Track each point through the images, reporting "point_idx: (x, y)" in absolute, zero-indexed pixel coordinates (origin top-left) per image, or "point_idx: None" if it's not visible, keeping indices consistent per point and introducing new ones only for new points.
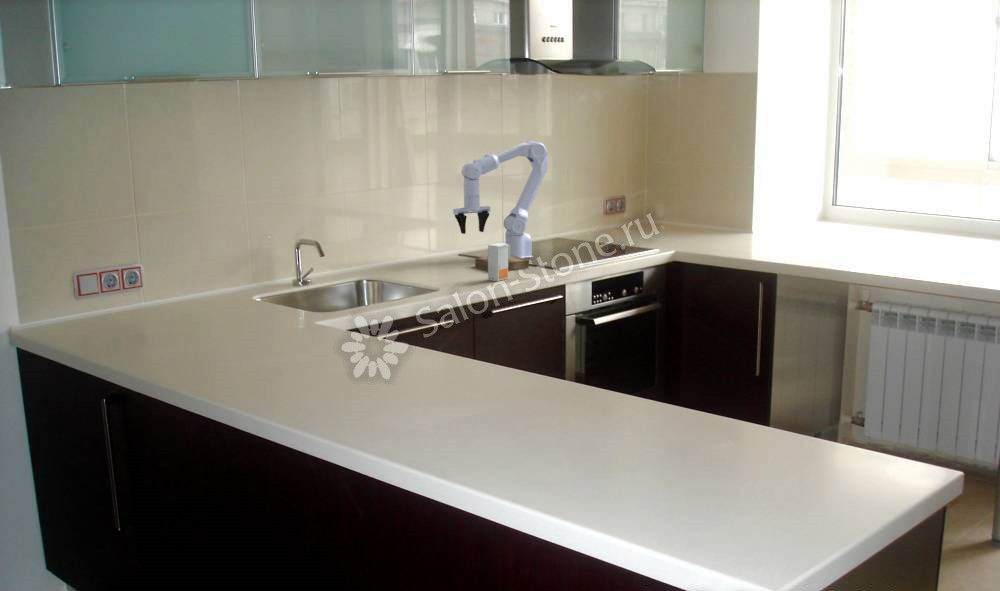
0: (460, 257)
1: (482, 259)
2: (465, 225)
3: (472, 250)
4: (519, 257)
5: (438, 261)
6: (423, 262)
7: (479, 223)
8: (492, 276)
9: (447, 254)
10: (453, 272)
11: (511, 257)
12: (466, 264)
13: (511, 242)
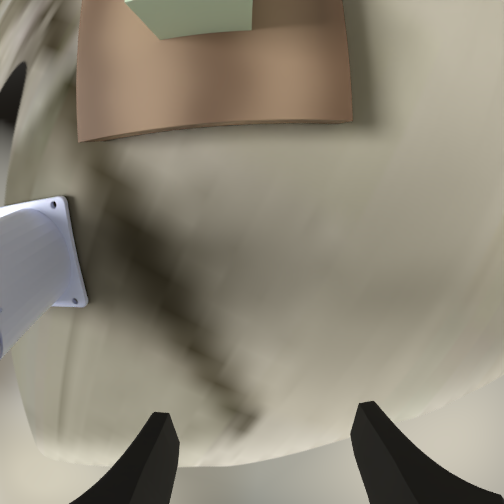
0: (273, 386)
1: (332, 47)
2: (392, 459)
3: None
4: (83, 12)
5: (405, 346)
6: (452, 347)
7: (165, 501)
8: None
9: (284, 444)
10: (479, 69)
11: (120, 23)
12: (350, 208)
13: (2, 253)
